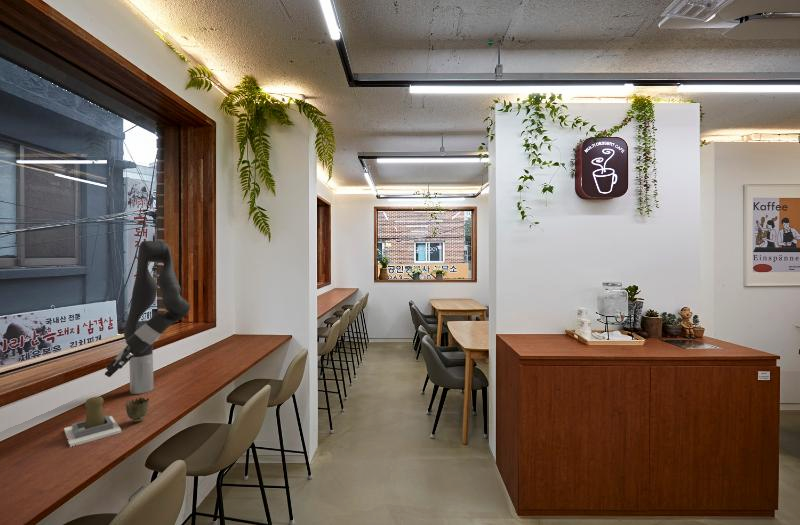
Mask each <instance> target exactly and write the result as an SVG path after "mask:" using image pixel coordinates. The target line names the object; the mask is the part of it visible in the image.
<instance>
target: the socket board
mask: <svg viewBox="0 0 800 525" xmlns="http://www.w3.org/2000/svg"><path fill="white" fill-rule="evenodd" d="M104 419H105V424H103V425H99V426H95V427H92V428H88V429H85V423H86V420H82V421H78V422H75V423H72V424H71V426H67V427H64V430H63V431H64V435H65V437H66V440H67V439H68V440H67V443H68V445H70V446H69V448H73V447H76V446H80V445H83V444H86V443H90V442H93V441H97V440H101V439H104V438H106V437H111V436H115V435H118V434H120V433H122V428H121V427H120V426H119V424H118V423H117V422H116V420H115V419H114V417H113V415H110V416H109V415H108V414H107V415H104ZM75 445H76V446H75ZM72 446H73V447H72Z"/></svg>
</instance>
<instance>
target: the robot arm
mask: <svg viewBox="0 0 800 525" xmlns="http://www.w3.org/2000/svg"><path fill="white" fill-rule="evenodd" d="M150 263H163V267H162V269H161V271H160V273H159V275H158V278H157V282H156V280H155V279H154V277H153V275H151V273H150V271H149V264H150ZM174 266H175V265H174V261H173V256H172V252H171V248H170V245H169V244H168V242H165V241H160V240H159V241H158V240H143V241H141V242H140V244H139V247H138V253H137V266H136V274H135V279H134V284H133V286H132V287H133V289H132V294H131V300H130V307H129V311H128V315H127V319H126V322H125V325H124V330H123V337H124V339H125V344H126V346H125V347H124V348H122V350H121V351H119V353H118V354H117V355H116V356H115V357H114V358H113V360H112V361H111V362H110V363H109V364H108V365H107V366H106V367H105V369H106V370H107V371H105V373H104V376H106V377H108V378H110V377H112V376H113V375H114V374H115V373H116V372H117V371H118V370H121V369H123V367H124V366H125V365H126V364H127V363H128V362H129V365H128V366H129V387H130V388H129V391H130V392H129V393H130V394H132V395H138V394H145V393H149V392H151V391H153V390H154V388H155V387H154V359H153V358H154V357H153V356H154V355H153V354H154V353H153V349H154V342H156V341H157V340H158V339H159V337H160V336H161V335H162V334H163V333H164V332H165V331H166V330H167V329H168V328H169V327H170V326H172V325H174V324H175V323H177V322H178V321H180V320H181V319H183V318H185V317H186V316H187V314H188V313H189V312H190V309H191V304H190V302H189V301H188V300H186V299H185V298H183V297H182V296H181V294H182V288H181V285H180V283H179V281H178V278H177V275H176V271H175V267H174ZM158 286H159V289H160V292H161V300H162V304H163V307H164V308H165V310H166V312H164V313H155V314H154V315H153V316H151V317H150V318H149V319H148V320H147V319H145V320H140V319H141V317H142V316H143V315H144V314H145V313H146V312H147V311H148V310H149V309H150V308H151V307H152V305H153V304H154V303H155V301H156V298H157V293H158Z"/></svg>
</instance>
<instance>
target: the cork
mask: <svg viewBox="0 0 800 525" xmlns="http://www.w3.org/2000/svg"><path fill="white" fill-rule="evenodd" d="M103 404H104V398H103V397H102V396H93V397H90V398H88V399H87V400H86V401H85V408H86V409H87V410H86V415H85V416H86V417H85V421H86V423H85V429H88V428H92V427H95V426H99V425H103V424H105V419H104V416H105V415H104V411H103Z"/></svg>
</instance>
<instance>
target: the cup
mask: <svg viewBox="0 0 800 525" xmlns="http://www.w3.org/2000/svg"><path fill="white" fill-rule="evenodd" d="M149 401H150V398H148V397H147V398H146V399H145V397H143V398H142V397H139V398H137V397H136V398H135V400H134V399H131V400H129V401H126V402H125V409H126V414H127V417H128V418H129V419H131V422H132V423H134V424H137V423H140V422H143V421H144V419H145V417H144V416H146V415H147V413H148V411H149V404H150V403H149Z"/></svg>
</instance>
